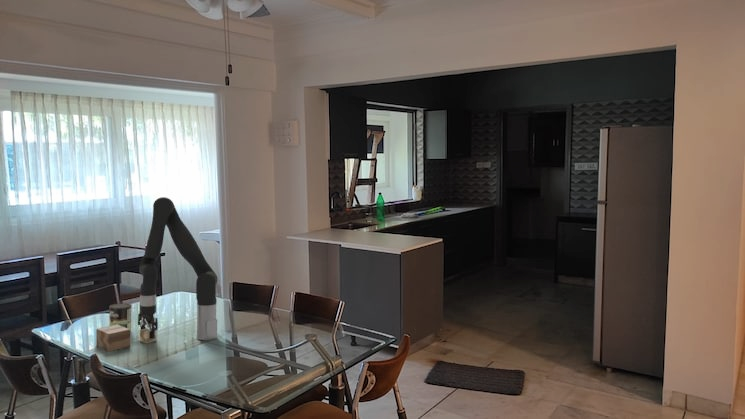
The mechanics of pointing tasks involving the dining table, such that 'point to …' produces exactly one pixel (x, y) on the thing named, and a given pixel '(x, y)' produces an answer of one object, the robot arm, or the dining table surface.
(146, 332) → the birch cube
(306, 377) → the dining table surface
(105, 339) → the walnut stand
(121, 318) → the coffee can
